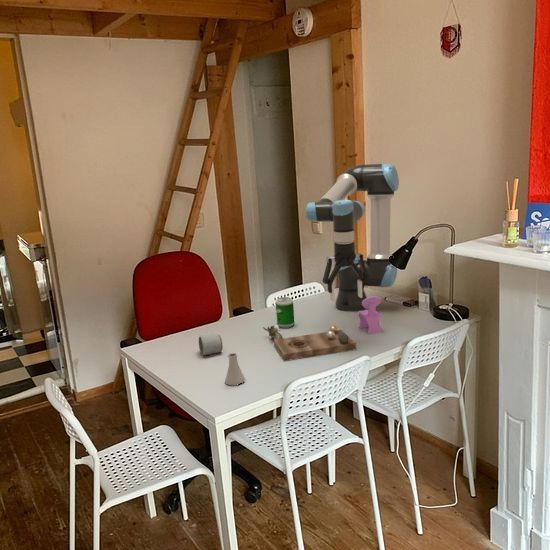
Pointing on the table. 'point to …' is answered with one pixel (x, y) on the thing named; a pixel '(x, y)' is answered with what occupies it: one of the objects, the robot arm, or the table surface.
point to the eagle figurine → (274, 332)
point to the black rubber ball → (343, 338)
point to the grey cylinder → (210, 344)
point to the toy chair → (370, 315)
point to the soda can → (285, 312)
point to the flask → (234, 371)
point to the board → (312, 345)
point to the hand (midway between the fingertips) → (346, 298)
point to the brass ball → (333, 329)
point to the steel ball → (330, 334)
